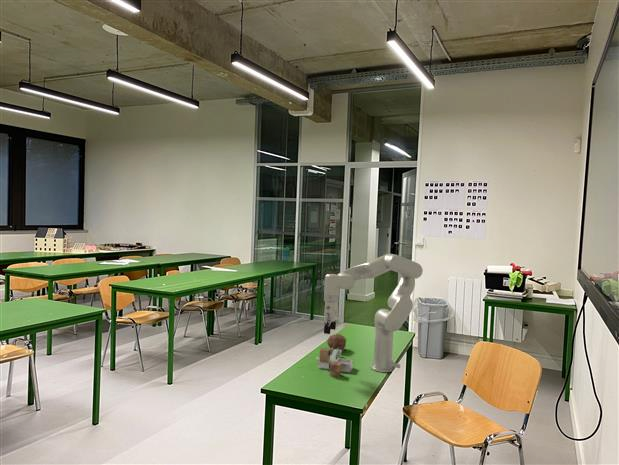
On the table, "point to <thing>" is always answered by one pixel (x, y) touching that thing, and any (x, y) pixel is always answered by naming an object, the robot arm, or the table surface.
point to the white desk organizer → (325, 360)
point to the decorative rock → (337, 341)
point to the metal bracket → (333, 354)
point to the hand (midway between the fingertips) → (329, 331)
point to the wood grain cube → (335, 369)
